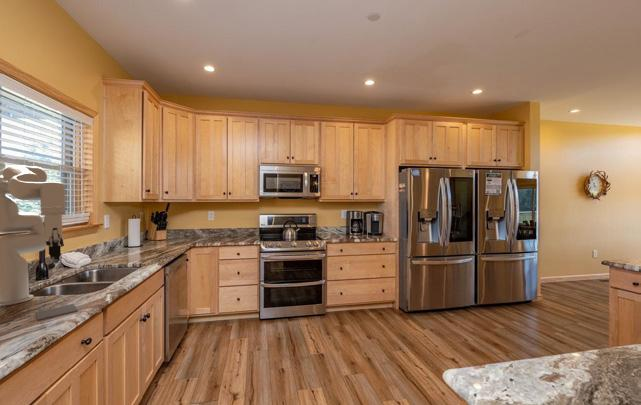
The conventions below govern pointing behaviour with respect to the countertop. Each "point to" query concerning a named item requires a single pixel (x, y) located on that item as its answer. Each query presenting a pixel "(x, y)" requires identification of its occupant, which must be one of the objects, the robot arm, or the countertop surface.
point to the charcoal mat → (55, 312)
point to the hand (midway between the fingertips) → (54, 254)
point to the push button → (54, 258)
